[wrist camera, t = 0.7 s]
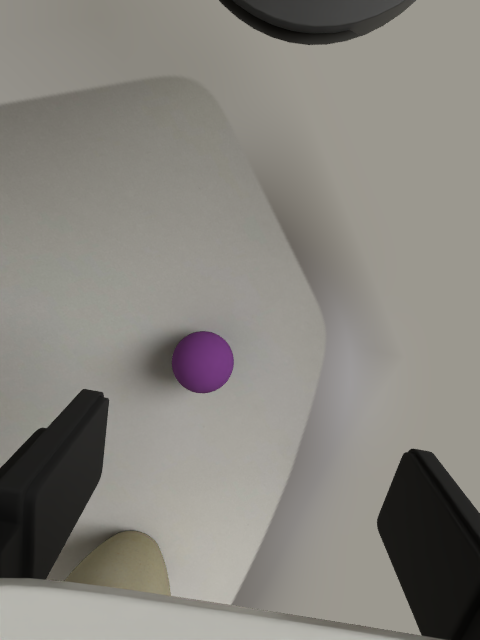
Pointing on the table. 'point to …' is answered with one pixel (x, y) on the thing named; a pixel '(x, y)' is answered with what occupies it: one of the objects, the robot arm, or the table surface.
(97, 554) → the flower pot
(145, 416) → the table surface
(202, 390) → the ball
